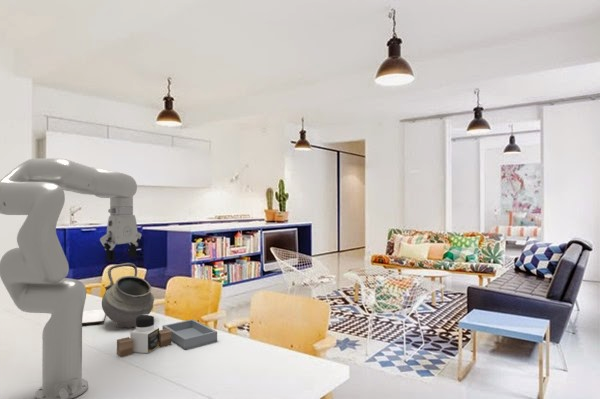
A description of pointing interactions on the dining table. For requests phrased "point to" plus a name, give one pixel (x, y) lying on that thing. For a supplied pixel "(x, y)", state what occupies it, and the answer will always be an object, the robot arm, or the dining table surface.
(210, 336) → the tray
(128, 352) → the left walnut block
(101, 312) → the plate
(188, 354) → the dining table surface
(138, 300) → the pot
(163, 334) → the right walnut block
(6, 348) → the dining table surface
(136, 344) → the medicine bottle
